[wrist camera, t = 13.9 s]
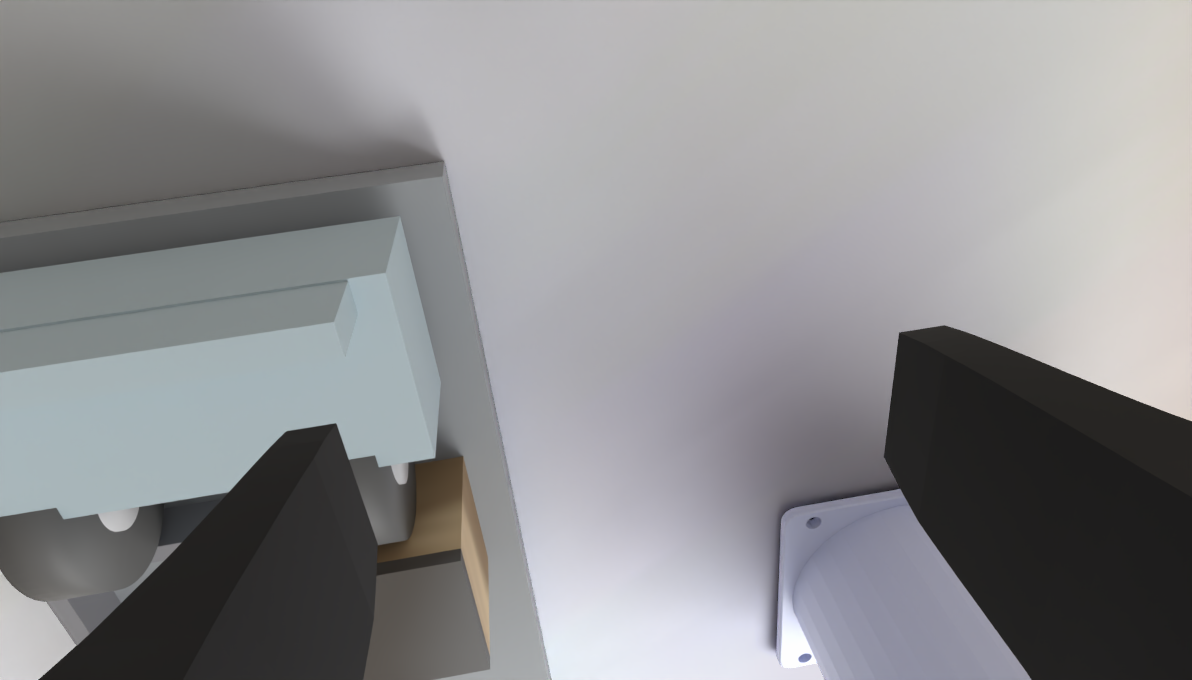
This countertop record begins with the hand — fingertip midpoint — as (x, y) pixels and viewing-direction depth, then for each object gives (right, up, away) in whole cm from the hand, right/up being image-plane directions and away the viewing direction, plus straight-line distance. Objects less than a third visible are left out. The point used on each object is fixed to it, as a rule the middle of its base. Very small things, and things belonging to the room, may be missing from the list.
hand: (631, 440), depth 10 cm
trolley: (-10, 0, +9) cm, 13 cm away
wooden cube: (-6, -4, +12) cm, 14 cm away
